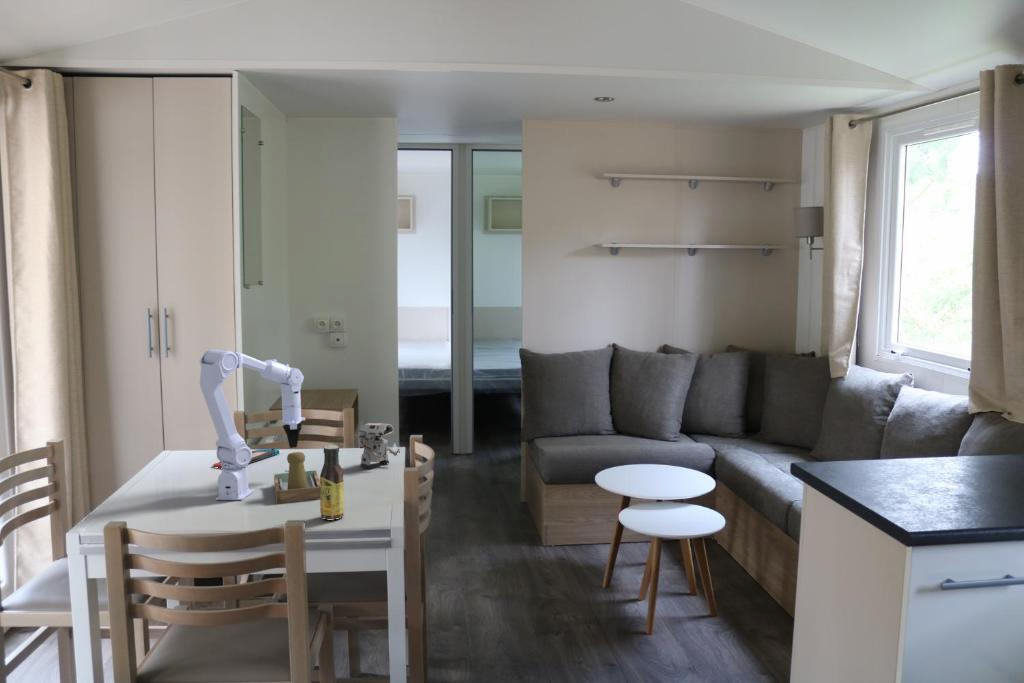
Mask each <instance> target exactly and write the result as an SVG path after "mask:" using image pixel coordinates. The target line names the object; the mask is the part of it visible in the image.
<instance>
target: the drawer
mask: <svg viewBox="0 0 1024 683" xmlns="http://www.w3.org/2000/svg"><path fill="white" fill-rule="evenodd" d="M314 473H317V469H315V468H314V469H305V474H306V479H307V485H308V488H309V487H315V484H314ZM288 475H289V469H288V470H284V471H283V472H274V474H273V478H274V477H278V483H279V485H280V490H287V488H288Z"/></svg>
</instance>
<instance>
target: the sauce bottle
mask: <svg viewBox="0 0 1024 683" xmlns="http://www.w3.org/2000/svg"><path fill="white" fill-rule="evenodd" d="M339 452H340V447H339V445H336V444H329V445H325V446H323V455H324V461H323V466H322V469H321V472H320V476H319V480H320V499H319V503H320V505H319V506H320V507H319V508H320V517H322V518H325V519H336V518H340V517H342V516H343V517H344V511H345V503H344V502H345V501H344V500H345V498H344V495H345V494H344V493H345V491H344V489H345V488H344V470H343V468H342V466H341V465H340V460H339ZM343 517H342V518H343ZM322 518H321V519H322Z"/></svg>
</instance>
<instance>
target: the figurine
mask: <svg viewBox="0 0 1024 683" xmlns="http://www.w3.org/2000/svg"><path fill="white" fill-rule="evenodd" d="M360 431H361V432H364V433H366V434H367V436H369V437H364V436H363V437H361V438H360V443H359V449H363V453H362V454H361V456H360V457H361V458H360V461H361V462H360V467H361V468H362V467H364V468H363V469H366V468H367V469H366V470H371V469H372V465H371V463H379V462H381V463H385V464H387V463H388V464H390V460H389V454H392V455H393V456H395V457H396V456H398V453H399V454H400V453H401V451H400V448H398V449H397V450H396V451H395V450H393V449H392V448H391V447H390V446H388V439H386V438H383V437H385V436H387V435H390V434H392V433H394V427H393V425H392V424H391V423H380V422H379V423H378V422H377V423H376V422H375V423H372V422H367V423H365V424H363V425H362V427H360ZM364 438H365V439H364ZM388 451H389V454H388ZM381 463H380V464H381ZM385 464H384V465H385ZM388 464H387V465H388Z"/></svg>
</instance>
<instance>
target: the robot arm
mask: <svg viewBox="0 0 1024 683" xmlns="http://www.w3.org/2000/svg"><path fill="white" fill-rule="evenodd" d="M199 365H200V375H199V376H200V378H199V386H200V389H201V392H202V394H203V398H204V401H205V403H206V406H207V408H208V409H207V410H208V411H209V414H210V417H211V420H212V423H213V426H214V429H215V431H216V434H217V435H216V436H217V437H218V439H217V440H216V441H215V445H216V458H217V460H218V461H219V462H220V461H221V465H222V469H221V473H220V474H219V476H218V478H217V487H218V488H217V489H218V496H217V497H216V498H215V501H220V500H221V501H243V500H244V499H246V497H248V496H249V495H251V494H253V492H254V490H255V489H253V488H249V487H250V486H249V470H248V469H249V467H248V466H249V464H248V463H249V462H250V461H251V458H252V452H251V451H252V449H251V448H250V447H249V446H248V445H247V443H246V440H245V439H244V438H243V437H242V436H241V435H240V434H239V432H238V430H237V427H236V425H235V421H234V419H233V416H232V412H231V410H230V407H229V404H228V401H227V399H226V395H225V393H224V389H223V387H222V385H223V384H224V382H225V380H227V378H228V377H229V376H230V375H232V373H233V372H234V371H235V370H236V369H240V368H241V367H242V368H247V369H250V370H252V371H255V372H256V371H257V372H259V373H260V376H261V377H262V378H264V379H266V380H271V381H274V382H277V383H278V384H279V385H281V387H280V388H281V390H280V391H281V408H282V409H281V410H282V413H281V414H282V419H281V422H282V423H283V425H282V427H283V430H284V432H285V434H286V437H287V441H288V445H289V446H288V447H289V449H293V448H297V447H298V442H299V437H300V433H301V429H302V428H303V426H302V423H301V422H302V421H306V417H304V416H303V417H302V404H301V402H302V401H301V389H302V384H303V382H304V378H305V375H303V373H302V371H301V370H300V369H299V368H297V367H290V365H289V364H288V363H284V364H283V363H281V362H278V360H277V359H274V358H271V359H266V360H264V361H262V360H259V359H257V358H254V357H252V356H249V355H247V354H245V353H242V352H237V351H236V352H235V351H233V350H220V349H215V348H209V349H207V350H205V352H203V355H202V357H201V358H200V359H199Z"/></svg>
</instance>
